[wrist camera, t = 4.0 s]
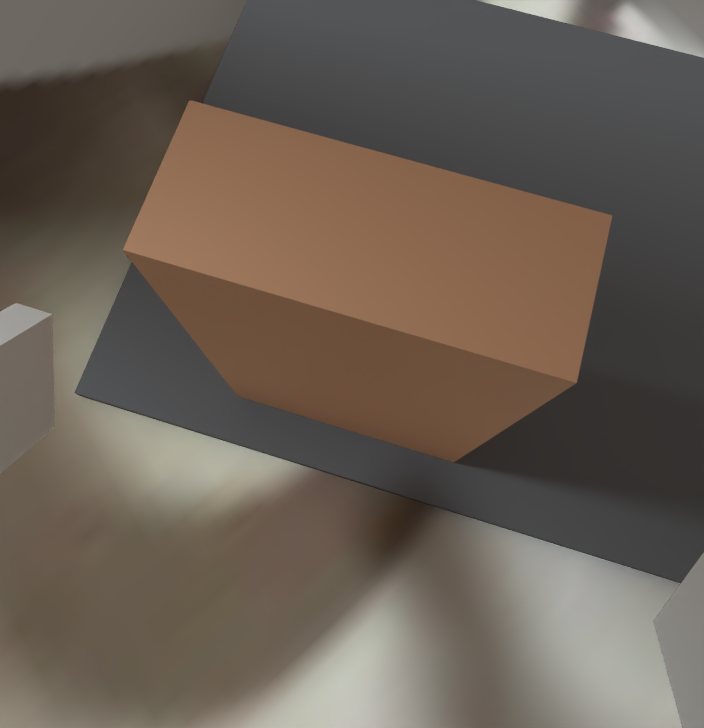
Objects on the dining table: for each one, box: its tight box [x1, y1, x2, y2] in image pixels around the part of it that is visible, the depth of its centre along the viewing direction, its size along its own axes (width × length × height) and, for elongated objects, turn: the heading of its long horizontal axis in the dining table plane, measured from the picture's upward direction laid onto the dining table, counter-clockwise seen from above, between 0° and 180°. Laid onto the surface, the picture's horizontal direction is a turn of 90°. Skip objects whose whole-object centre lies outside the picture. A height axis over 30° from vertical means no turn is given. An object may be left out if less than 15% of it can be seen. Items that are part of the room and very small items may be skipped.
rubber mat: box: [75, 0, 704, 583], centre depth 22 cm, size 22×20×1 cm
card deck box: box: [123, 100, 612, 462], centre depth 15 cm, size 8×3×11 cm, turn 73°
